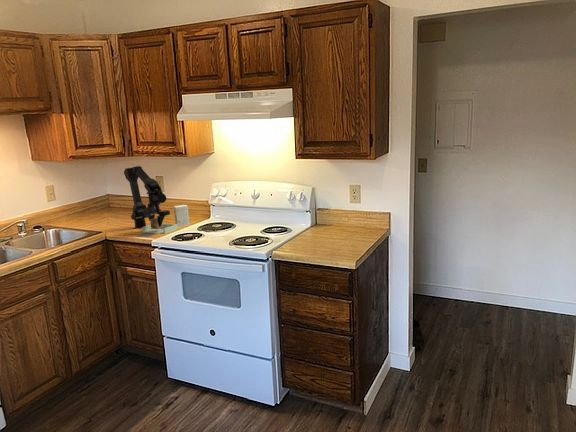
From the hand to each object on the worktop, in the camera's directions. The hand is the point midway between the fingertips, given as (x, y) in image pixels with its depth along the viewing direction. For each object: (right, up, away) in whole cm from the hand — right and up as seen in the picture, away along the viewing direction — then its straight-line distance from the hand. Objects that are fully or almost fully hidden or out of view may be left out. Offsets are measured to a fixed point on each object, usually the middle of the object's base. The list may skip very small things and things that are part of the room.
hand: (156, 226), depth 293 cm
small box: (+13, 0, +15) cm, 20 cm away
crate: (+1, -3, +3) cm, 4 cm away
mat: (-4, -5, -8) cm, 10 cm away
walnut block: (0, -1, 0) cm, 1 cm away
